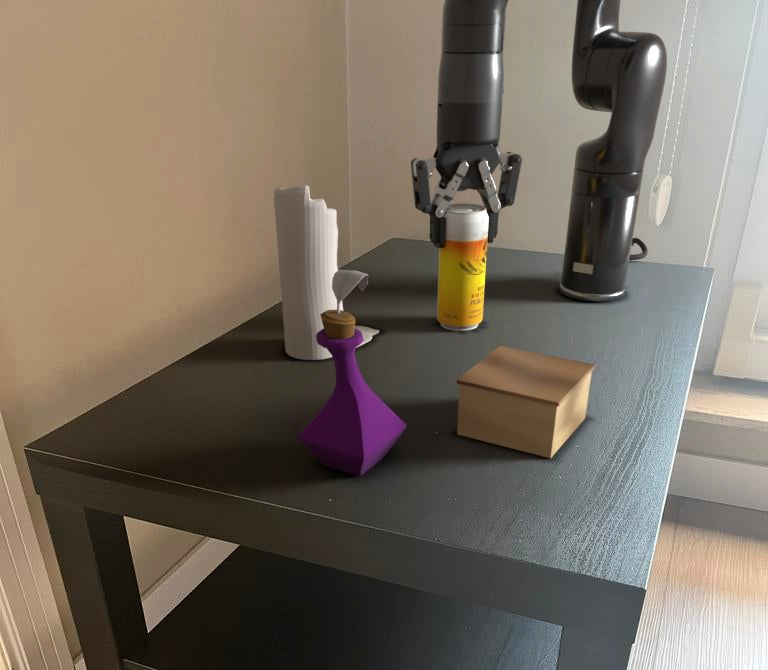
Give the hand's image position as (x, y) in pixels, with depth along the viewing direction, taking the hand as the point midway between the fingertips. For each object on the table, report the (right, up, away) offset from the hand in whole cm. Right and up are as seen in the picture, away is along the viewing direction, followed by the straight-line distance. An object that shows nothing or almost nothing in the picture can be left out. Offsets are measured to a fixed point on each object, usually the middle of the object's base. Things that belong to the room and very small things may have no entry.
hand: (463, 243), depth 102 cm
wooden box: (+4, -25, -20) cm, 32 cm away
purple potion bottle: (-13, -30, -26) cm, 41 cm away
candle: (-17, -13, +1) cm, 21 cm away
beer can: (0, -9, +6) cm, 11 cm away
